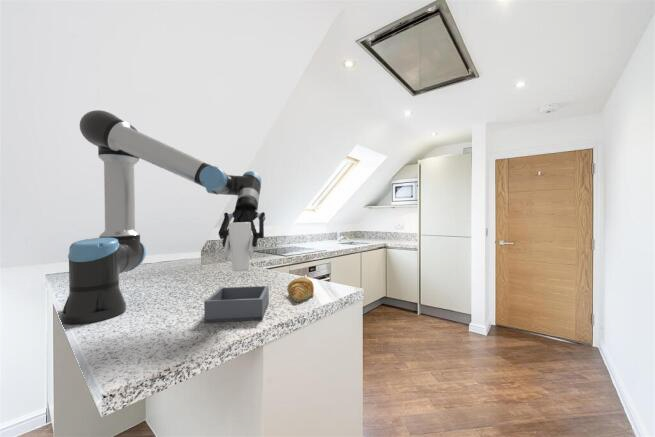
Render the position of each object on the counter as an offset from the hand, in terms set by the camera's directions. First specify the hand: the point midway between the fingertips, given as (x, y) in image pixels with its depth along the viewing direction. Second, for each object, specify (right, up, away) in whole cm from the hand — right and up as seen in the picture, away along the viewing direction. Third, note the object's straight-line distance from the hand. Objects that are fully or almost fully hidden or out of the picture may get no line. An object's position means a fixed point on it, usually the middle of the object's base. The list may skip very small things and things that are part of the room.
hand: (237, 254), depth 82 cm
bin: (-1, -19, +3) cm, 19 cm away
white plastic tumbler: (0, -6, +3) cm, 7 cm away
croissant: (+17, -19, +22) cm, 33 cm away
